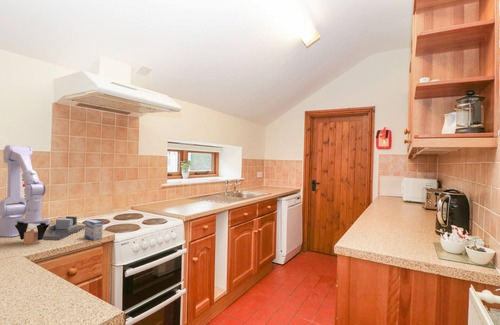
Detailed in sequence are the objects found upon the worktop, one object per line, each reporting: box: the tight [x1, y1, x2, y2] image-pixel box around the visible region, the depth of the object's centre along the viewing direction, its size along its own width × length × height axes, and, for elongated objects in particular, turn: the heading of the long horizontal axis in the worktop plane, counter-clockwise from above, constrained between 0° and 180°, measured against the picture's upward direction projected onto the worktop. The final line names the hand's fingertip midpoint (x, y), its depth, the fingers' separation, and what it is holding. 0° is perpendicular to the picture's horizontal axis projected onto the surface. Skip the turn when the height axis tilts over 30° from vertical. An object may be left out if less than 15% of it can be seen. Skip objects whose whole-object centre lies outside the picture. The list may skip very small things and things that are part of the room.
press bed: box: [42, 223, 85, 241], centre depth 144 cm, size 14×24×4 cm, turn 4°
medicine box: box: [84, 219, 104, 241], centre depth 138 cm, size 8×4×9 cm, turn 62°
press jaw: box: [55, 215, 78, 229], centre depth 150 cm, size 7×9×5 cm
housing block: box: [23, 228, 40, 245], centre depth 126 cm, size 4×4×6 cm
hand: (31, 239), depth 126 cm, fingers open, 7 cm apart
